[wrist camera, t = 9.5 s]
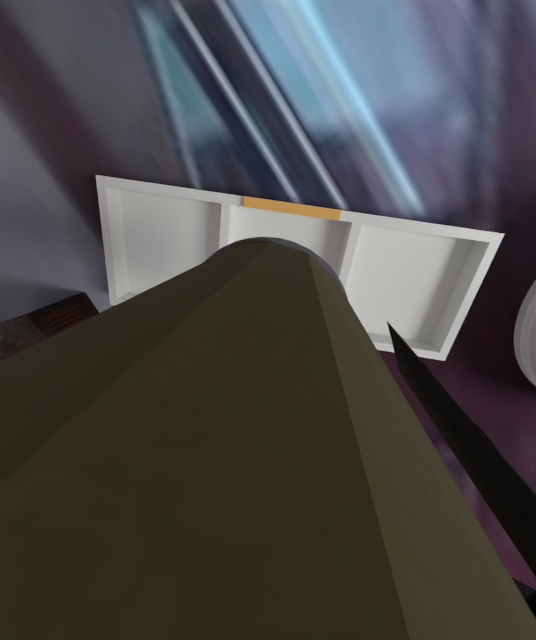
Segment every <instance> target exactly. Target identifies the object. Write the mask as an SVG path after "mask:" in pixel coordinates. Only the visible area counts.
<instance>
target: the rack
mask: <svg viewBox="0 0 536 640" xmlns="http://www.w3.org/2000/svg"><path fill="white" fill-rule="evenodd" d="M96 183H97V192H98V201H99V209H100V218H101V227H102V236H103V244H104V253H105V262H106V271H107V279H108V288H109V297H110V305H118V304H120V303H122V302H124V301H126V300H128V299H130V298H132V297H134V296H136V295H138V294H140V293H142V292H144V291H146V290H148V289H150V288H152V287H154V286H156V285H159V284H161V283H163V282H165V281H167V280H169V279H171V278H173V277H175V276H177V275H179V274H181V273H183V272H185V271H187V270H189V269H191V268H193V267H195V266H197V265H200V264H202V263H203V262H204V261H205V260H206V259H208V258H209V257H210V256H211V255H212V254H213V253H215V252H216V251H218V250H219V249H220V248H222V247H224V246H227V245H229V244H231V243H233V242H235V241H239V240H243V239H247V238H254V237H274V238H282V239H285V240H289V241H293V242H295V243H298V244H300V245H302V246H304V247H306V248H308V249H310V250H312V251H313V252H314V253H316V254H317V255H318V256H320V257H321V258H322V259H323V260H324V261H325V262H326V263H327V264H328V265H329V266H330V267H331V268H332V269H333V270H334V272H335V273H336V274H337V276H338V278H339V279H340V281H341V283H342V284H343V287H344V289H345V292H346V294H347V297H348V301H349V303H350V305H351V307H352V308H353V310H354V312H355V313H356V315H357V317H358V318H359V320H360V322H361V323H362V325H363V327H364V329H365V330H366V332H367V334H368V335H369V337H370V339H371V340H372V342H373V344H374V345H375V347H376V349H377V350H383V351H389V352H394V348H393V344H392V340H391V336H390V332H389V328H388V324H387V321H388V322H389V324H390V325H391V326H392V327H393V328H394V329H395V330H396V332H397V333H398V334H399V335H400V336H401V337H402V339H403V340H404V341H405V342H406V343H407V344H408V345H409V347H410V348H411V349H412V350H413V351H414V352H415V354H416V355H417V356H418V357H424V358H430V359H436V360H442V361H445V359H446V357H447V355H448V353H449V351H450V349H451V347H452V344H453V342H454V340H455V338H456V336H457V334H458V332H459V330H460V328H461V325H462V323H463V321H464V319H465V317H466V315H467V313H468V311H469V309H470V306H471V304H472V302H473V300H474V298H475V296H476V294H477V292H478V289H479V287H480V285H481V283H482V281H483V279H484V277H485V275H486V273H487V270H488V268H489V266H490V264H491V262H492V260H493V258H494V256H495V254H496V251H497V249H498V247H499V245H500V243H501V241H502V239H503V237H504V235H505V234H503V233H496V232H489V231H482V230H475V229H468V228H461V227H454V226H447V225H440V224H433V223H426V222H419V221H412V220H405V219H399V218H392V217H385V216H378V215H371V214H364V213H357V212H350V211H343V210H337V209H330V208H323V207H316V206H310V205H303V204H296V203H289V202H282V201H275V200H268V199H261V198H254V197H247V196H239V195H232V194H225V193H218V192H211V191H204V190H197V189H190V188H183V187H176V186H169V185H162V184H155V183H148V182H141V181H134V180H127V179H120V178H113V177H106V176H100V175H96Z"/></svg>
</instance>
